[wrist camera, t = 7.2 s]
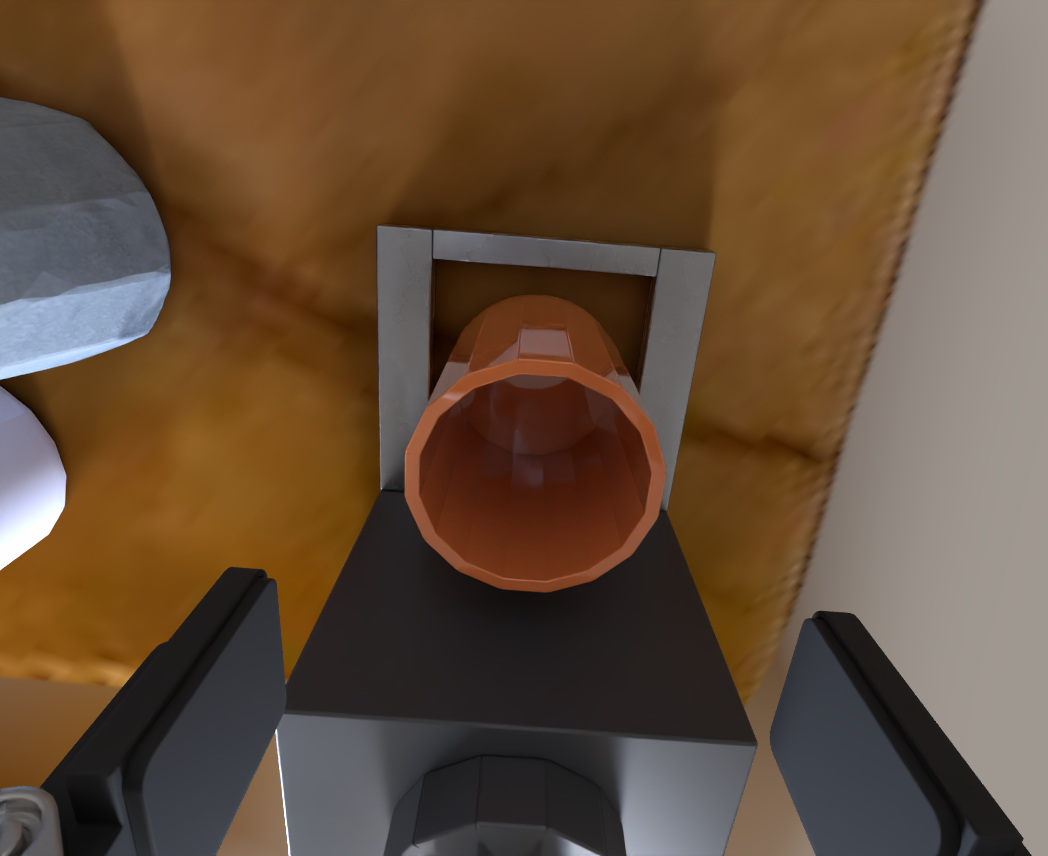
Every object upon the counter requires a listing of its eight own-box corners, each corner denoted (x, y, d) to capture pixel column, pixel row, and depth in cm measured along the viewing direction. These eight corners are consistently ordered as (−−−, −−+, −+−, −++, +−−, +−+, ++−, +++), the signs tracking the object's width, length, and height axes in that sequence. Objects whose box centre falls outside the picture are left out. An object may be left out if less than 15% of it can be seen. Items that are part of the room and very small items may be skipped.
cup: (451, 286, 23) (404, 349, 15) (630, 300, 23) (685, 371, 15) (446, 450, 25) (404, 582, 17) (608, 462, 26) (643, 600, 17)
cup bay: (381, 222, 22) (375, 224, 21) (709, 249, 22) (717, 252, 21) (385, 479, 26) (379, 490, 25) (663, 500, 26) (667, 512, 25)
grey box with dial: (385, 479, 26) (237, 778, 13) (663, 500, 26) (788, 815, 13) (387, 627, 29) (269, 988, 16) (635, 645, 29) (716, 1016, 16)
